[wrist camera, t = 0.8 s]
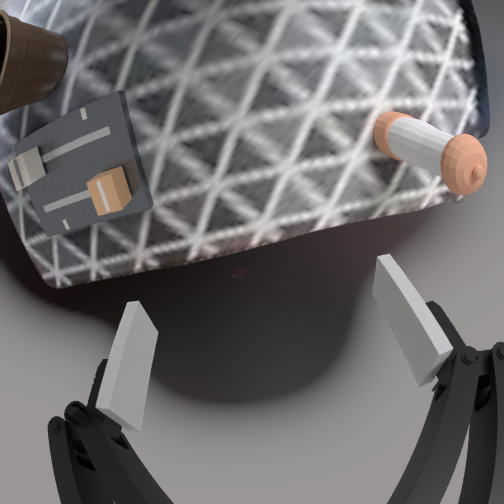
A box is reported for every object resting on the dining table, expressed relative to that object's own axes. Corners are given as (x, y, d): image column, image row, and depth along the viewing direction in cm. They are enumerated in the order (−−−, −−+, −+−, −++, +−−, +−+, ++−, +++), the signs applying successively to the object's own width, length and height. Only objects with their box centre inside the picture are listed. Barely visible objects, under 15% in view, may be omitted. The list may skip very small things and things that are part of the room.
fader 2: (98, 173, 33) (85, 183, 29) (121, 165, 33) (109, 175, 29) (109, 204, 36) (97, 217, 32) (131, 198, 35) (121, 210, 32)
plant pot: (7, 50, 19) (-57, 57, 5) (77, 4, 19) (13, -17, 5) (16, 127, 28) (-50, 156, 14) (85, 89, 28) (13, 99, 14)
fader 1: (22, 155, 29) (6, 163, 25) (37, 146, 29) (20, 153, 25) (30, 182, 31) (15, 192, 28) (45, 174, 31) (30, 184, 28)
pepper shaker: (367, 118, 33) (456, 149, 17) (404, 106, 32) (497, 134, 16) (379, 161, 37) (460, 215, 21) (414, 148, 36) (498, 194, 20)
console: (20, 142, 29) (13, 145, 28) (124, 90, 29) (118, 90, 27) (52, 231, 39) (46, 237, 38) (153, 203, 39) (149, 209, 37)
